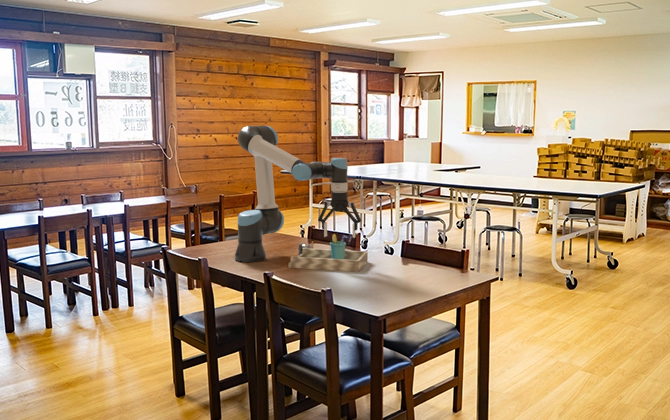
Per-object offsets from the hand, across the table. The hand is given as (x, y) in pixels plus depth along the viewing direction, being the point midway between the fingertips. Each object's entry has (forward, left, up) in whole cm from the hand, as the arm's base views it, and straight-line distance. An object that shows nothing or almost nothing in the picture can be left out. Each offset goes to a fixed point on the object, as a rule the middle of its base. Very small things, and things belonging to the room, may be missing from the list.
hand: (339, 236), depth 292 cm
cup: (0, 0, -14) cm, 14 cm away
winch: (-21, +16, -14) cm, 30 cm away
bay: (-5, 0, -14) cm, 15 cm away
